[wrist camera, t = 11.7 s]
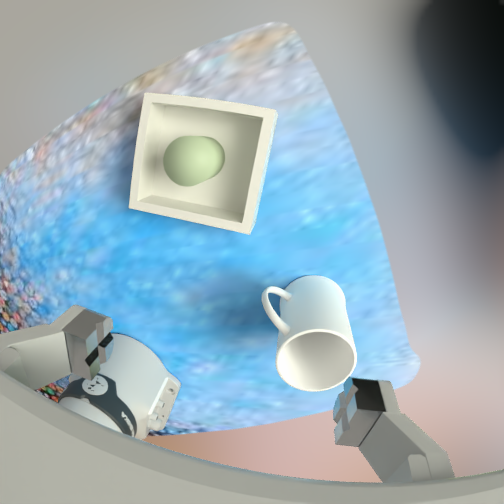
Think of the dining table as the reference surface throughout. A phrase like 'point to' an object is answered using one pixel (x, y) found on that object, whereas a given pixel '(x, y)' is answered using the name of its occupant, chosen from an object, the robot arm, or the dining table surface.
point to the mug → (312, 334)
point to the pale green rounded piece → (193, 159)
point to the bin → (218, 187)
